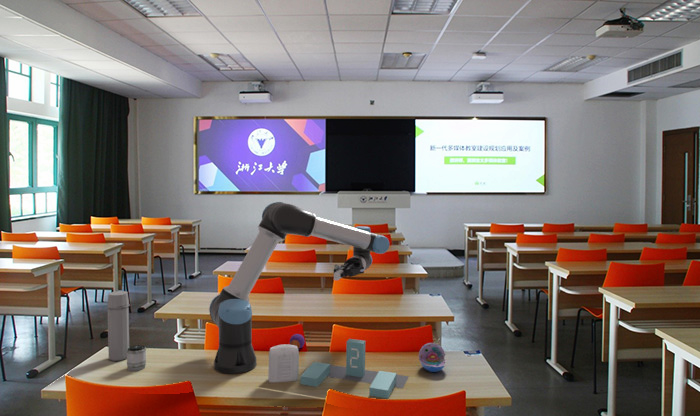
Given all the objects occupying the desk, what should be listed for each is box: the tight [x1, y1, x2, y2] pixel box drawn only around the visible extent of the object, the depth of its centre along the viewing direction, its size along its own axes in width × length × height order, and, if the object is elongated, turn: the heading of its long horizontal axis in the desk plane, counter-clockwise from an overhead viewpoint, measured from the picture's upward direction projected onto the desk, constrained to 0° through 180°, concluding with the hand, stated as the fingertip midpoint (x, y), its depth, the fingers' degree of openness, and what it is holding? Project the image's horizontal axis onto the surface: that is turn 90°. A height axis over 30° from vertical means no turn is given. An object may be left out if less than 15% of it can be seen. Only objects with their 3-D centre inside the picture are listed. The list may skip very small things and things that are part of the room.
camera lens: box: [126, 344, 147, 372], centre depth 172 cm, size 6×6×8 cm
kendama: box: [289, 333, 305, 350], centre depth 187 cm, size 6×6×20 cm
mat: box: [302, 361, 410, 389], centre depth 168 cm, size 36×10×1 cm, turn 72°
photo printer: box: [267, 343, 300, 383], centre depth 163 cm, size 10×4×12 cm, turn 103°
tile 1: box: [299, 361, 331, 388], centre depth 164 cm, size 6×3×12 cm
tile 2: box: [345, 338, 366, 377], centre depth 167 cm, size 6×3×12 cm, turn 72°
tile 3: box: [369, 370, 398, 399], centre depth 157 cm, size 6×3×12 cm
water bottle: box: [106, 290, 131, 362], centre depth 181 cm, size 9×8×25 cm
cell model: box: [418, 342, 447, 373], centre depth 173 cm, size 10×12×10 cm
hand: (335, 276), depth 180 cm, fingers closed
